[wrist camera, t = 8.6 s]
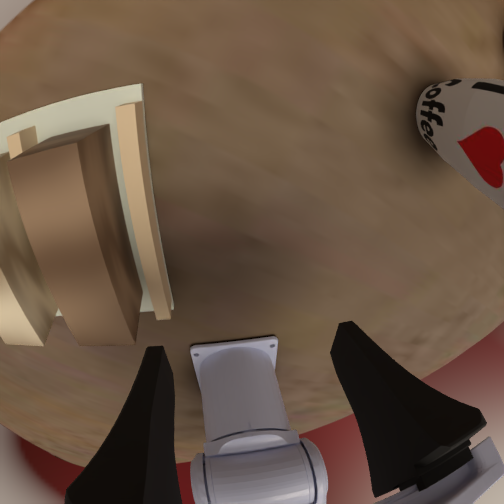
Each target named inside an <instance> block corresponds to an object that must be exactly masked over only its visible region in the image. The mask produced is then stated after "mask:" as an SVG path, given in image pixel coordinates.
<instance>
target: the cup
mask: <svg viewBox="0 0 504 504" xmlns="http://www.w3.org/2000/svg"><path fill="white" fill-rule="evenodd" d="M416 120H417V126H418V129H419V131H420V134H421V135H422V137H423V138H424V139H425V140H426V141H427V143H428V144H429V145H430V146H431V147H432V148H433V149H434V150H435V151H436V152H437V153H438V154H439V155H440V157H441V158H442V159H443V160H444V161H446V162H447V163H448V164H449V165H450V166H452V167H453V168H454V169H455V170H456V171H458V172H459V173H460V174H461V175H462V176H463V177H464V178H466V179H467V180H468V181H469V182H470V183H471V184H472V185H473V186H474V187H476V188H477V189H478V190H480V191H481V192H482V193H484V194H485V195H486V196H488V197H489V198H490V199H491V200H493V201H494V202H495V203H496V204H498V205H499V206H500V207H501V208H503V209H504V81H503V80H498V79H453V80H449V81H445V82H441V83H437V84H433V85H430V86H429V87H427V88H426V89H425V90H424V91H423V92H422V94H421V96H420V98H419V100H418V103H417V109H416Z"/></svg>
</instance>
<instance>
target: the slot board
mask: <svg viewBox="0 0 504 504" xmlns="http://www.w3.org/2000/svg"><path fill="white" fill-rule="evenodd" d="M104 124H110V132H111V140H112V148H113V155H114V162H115V168H116V175H117V181H118V186H119V192H120V197H121V202H122V208H123V212H124V217H125V222H126V227H127V231H128V236H129V240H130V244H131V248H132V252H133V256H134V260H135V264H136V268H137V272H138V275H139V279H140V283H141V286H142V290H143V295H142V302H141V308H140V312H147V311H154V312H155V315H156V318H157V320H165V319H171V310H173V309H174V302H173V297H172V293H171V288H170V283H169V279H168V274H167V269H166V264H165V259H164V253H163V248H162V242H161V237H160V231H159V225H158V219H157V213H156V206H155V199H154V192H153V185H152V178H151V170H150V161H149V152H148V143H147V133H146V121H145V108H144V93H143V84H135V85H129V86H124V87H118V88H113V89H108V90H104V91H99V92H95V93H90V94H86V95H82V96H78V97H75V98H71V99H67V100H64V101H60V102H57V103H53V104H50V105H47V106H44V107H41V108H38V109H35V110H32V111H29V112H26V113H24V114H21V115H18V116H16V117H13V118H11V119H8V120H6V121H3V122H1V123H0V154H2V153H5V152H8V151H9V154H10V159H12V158H14V157H16V156H17V155H19V154H21V153H22V152H24V151H26V150H28V149H29V148H31V147H33V146H35V145H37V144H38V143H40V142H42V141H44V140H46V139H48V138H50V137H53V136H57V135H60V134H64V133H68V132H72V131H77V130H81V129H85V128H90V127H95V126H99V125H104ZM56 316H62V314H61V312H60V310H59V308H58V311H57V313H56Z"/></svg>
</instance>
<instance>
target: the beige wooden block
mask: <svg viewBox="0 0 504 504" xmlns="http://www.w3.org/2000/svg"><path fill="white" fill-rule="evenodd" d="M9 160H11V159H10V154H9V151H8V152H5V153H2V154H0V336H1V338H2V339H3V340H4V342H5V343H6V344H14V345H32V346H44V345H45V342H46V340H47V337H48V334H49V331H50V329H51V326H52V323H53V321H54V318H55V316H56V313H57V311H58V306H57V304H56V302H55V300H54V298H53V296H52V294H51V292H50V289H49V287H48V285H47V283H46V281H45V278H44V276H43V274H42V272H41V269H40V267H39V264H38V262H37V260H36V257H35V255H34V252H33V249H32V247H31V244H30V241H29V239H28V236H27V233H26V230H25V227H24V224H23V221H22V218H21V215H20V212H19V209H18V205H17V202H16V198H15V195H14V191H13V187H12V184H11V180H10V175H9V171H8V167H7V161H9Z"/></svg>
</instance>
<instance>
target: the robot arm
mask: <svg viewBox="0 0 504 504" xmlns="http://www.w3.org/2000/svg"><path fill="white" fill-rule="evenodd" d="M277 347H278V339H277V337H275V336H271V337H264V338H257V339H249V340H241V341H232V342H223V343H214V344H203V345H194V346H192V347H191V348H190V353H191V357H192V361H193V364H194V368H195V372H196V376H197V380H198V383H199V387H200V390H201V395H202V405H203V415H204V425H205V434H206V442H207V443H203V445H204V453H205V454H204V453H198V454H196V456H195V458H194V459H193V460H192V461H191V484H192V491H193V496H194V500H195V504H326V494H327V491H328V478H327V472H326V468H325V464H324V461H323V458H322V456H321V453H320V451H319V449H318V448H317V446H316V445H315V444H314V443H312V442H311V441H309V440H308V439H307V438H301V439H299V436H298V433H297V430H291V428H290V424H289V421H288V417H287V414H286V410H285V406H284V403H283V399H282V396H281V392H280V389H279V385H278V381H277V378H276V374H275V364H276V356H277ZM330 354H331V357H332V361H333V364H334V368H335V371H336V374H337V376H338V378H339V381H340V383H341V385H342V387H343V390H344V392H345V394H346V396H347V398H348V401H349V403H350V405H351V407H352V410H353V412H354V414H355V417H356V419H357V422H358V426H359V429H360V432H361V436H362V439H363V443H364V447H365V451H366V455H367V460H368V465H369V471H370V477H371V484H372V491H373V494H374V497H375V498H376V497H379V496H381V495H383V494H386V493H388V492H390V491H392V490H394V489H397V488H399V489H400V492H399V493H396V494H394V495H392V496H390V497H388V498H385V499H383V500H381V501H378V502H376V503H374V504H473V503H475V502H476V500H478V499H479V498H480V496H482V495H483V494H484V493H485V492H486V491H487V490H488V489H489V488H490V487H491V486H492V485H493V484H495V483H496V482H497V481H498V480H499V479H500V478H501V477H502V476H503V475H504V464H503V462H502V460H501V457H500V455H499V453H498V451H497V449H496V447H495V445H494V443H493V441H492V439H491V437H487V438H486V439H485V440H483V441H482V442H481V443H479V444H478V445H477V446H475V447H474V448H472V449H471V450H470V449H469V447H468V446H470V445H471V442H470V440H469V439H470V438H471V437H472V436H473V435H475V434H476V433H477V432H478V431H480V430H481V429H482V428H483V427H485V426H486V424H487V422H486V420H485V418H484V417H483V415H482V413H481V411H480V410H479V409H478V408H475V407H472V406H469V405H467V404H464V403H461V402H459V401H457V400H454V399H452V398H450V397H448V396H446V395H444V394H442V393H441V392H439V391H437V390H435V389H433V388H432V387H430V386H428V385H427V384H425V383H424V382H422V381H421V380H419V379H418V378H416V377H415V376H414V375H412V374H411V373H409V372H408V371H407V370H406V369H404V368H403V367H402V366H401V365H399V364H398V363H397V362H396V361H395V360H393V359H392V358H391V357H390V356H389V355H388V354H387V353H386V352H385V351H383V350H382V349H381V348H380V347H379V346H378V345H377V344H376V343H375V342H374V341H373V340H372V339H371V338H370V337H369V336H367V335H366V334H365V333H364V332H363V331H362V330H361V329H360V328H359V327H358V326H357V325H356V324H355V323H354V322H353V321H348V322H343V323H339V326H338V329H337V332H336V336H335V339H334V342H333V345H332V348H331V351H330ZM174 409H175V392H174V379H173V372H172V370H171V367H170V364H169V361H168V358H167V356H166V353H165V350H164V347H163V346H150V347H147V348H146V351H145V354H144V357H143V360H142V363H141V366H140V369H139V371H138V374H137V377H136V379H135V381H134V384H133V386H132V389H131V391H130V393H129V396H128V398H127V400H126V402H125V404H124V406H123V408H122V410H121V413H120V415H119V416H118V418H117V420H116V422H115V424H114V426H113V427H112V429H111V431H110V433H109V434H108V436H107V438H106V439H105V441H104V442H103V444H102V445H101V447H100V449H99V450H98V451H97V453H96V454H95V456H94V457H93V458H92V460H91V461H90V462H89V464H88V465H87V466H86V467H85V469H84V470H83V471H82V472H81V474H80V475H79V476H78V477H77V478H76V479H75V480H74V482H72V484H71V485H70V486H69V487H68V488H67V489H66V495H65V504H182V500H181V494H180V489H179V483H178V476H177V470H176V462H175V453H174Z"/></svg>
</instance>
